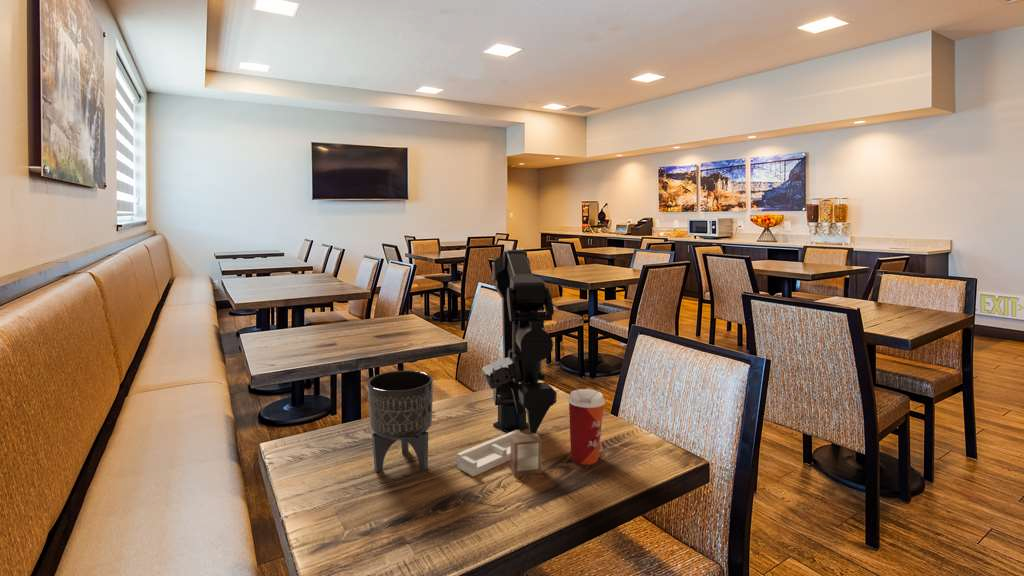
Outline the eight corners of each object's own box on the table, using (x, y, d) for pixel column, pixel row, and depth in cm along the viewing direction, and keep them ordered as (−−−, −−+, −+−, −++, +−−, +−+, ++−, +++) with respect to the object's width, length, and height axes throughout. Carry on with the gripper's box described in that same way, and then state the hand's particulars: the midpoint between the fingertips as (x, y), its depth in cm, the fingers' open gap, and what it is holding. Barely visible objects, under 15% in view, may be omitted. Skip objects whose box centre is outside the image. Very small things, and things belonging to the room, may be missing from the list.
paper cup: (602, 469, 108) (604, 402, 106) (564, 465, 110) (565, 399, 108) (603, 451, 116) (606, 389, 114) (568, 448, 118) (569, 386, 115)
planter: (446, 456, 113) (445, 375, 111) (410, 485, 102) (407, 395, 99) (396, 444, 119) (394, 367, 116) (356, 470, 107) (352, 385, 104)
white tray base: (457, 467, 109) (456, 453, 108) (517, 442, 120) (517, 429, 120) (473, 476, 105) (473, 462, 105) (533, 449, 117) (533, 436, 116)
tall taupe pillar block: (514, 476, 105) (514, 443, 104) (510, 469, 108) (510, 436, 107) (541, 473, 107) (541, 440, 106) (536, 466, 110) (537, 433, 108)
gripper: (476, 336, 110) (477, 409, 113) (496, 363, 93) (496, 448, 95) (529, 333, 113) (528, 404, 116) (558, 358, 95) (556, 442, 98)
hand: (526, 423), depth 106 cm, fingers open, 9 cm apart
